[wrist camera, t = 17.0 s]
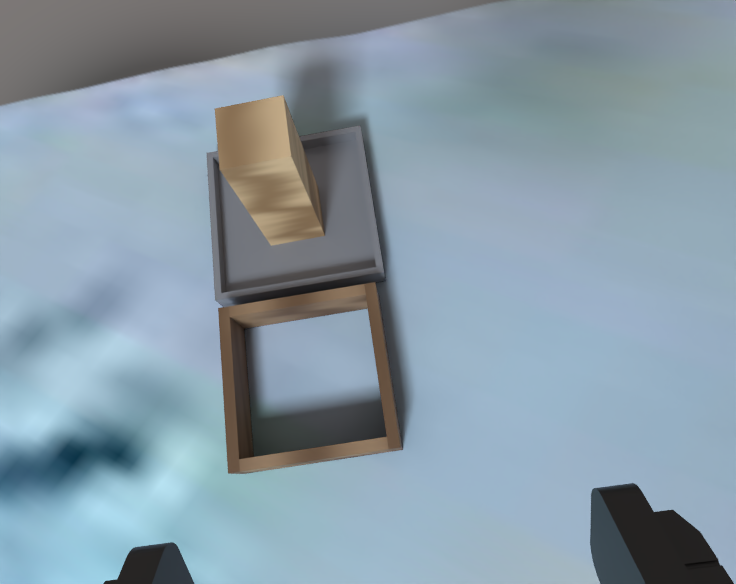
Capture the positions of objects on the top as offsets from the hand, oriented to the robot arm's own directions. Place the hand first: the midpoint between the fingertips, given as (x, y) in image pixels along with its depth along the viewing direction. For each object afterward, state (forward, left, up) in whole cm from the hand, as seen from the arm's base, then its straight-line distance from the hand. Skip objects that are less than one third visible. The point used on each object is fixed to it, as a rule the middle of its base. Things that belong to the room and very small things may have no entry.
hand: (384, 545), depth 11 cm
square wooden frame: (+6, -9, -30) cm, 32 cm away
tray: (+6, -22, -30) cm, 38 cm away
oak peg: (+6, -22, -30) cm, 38 cm away
